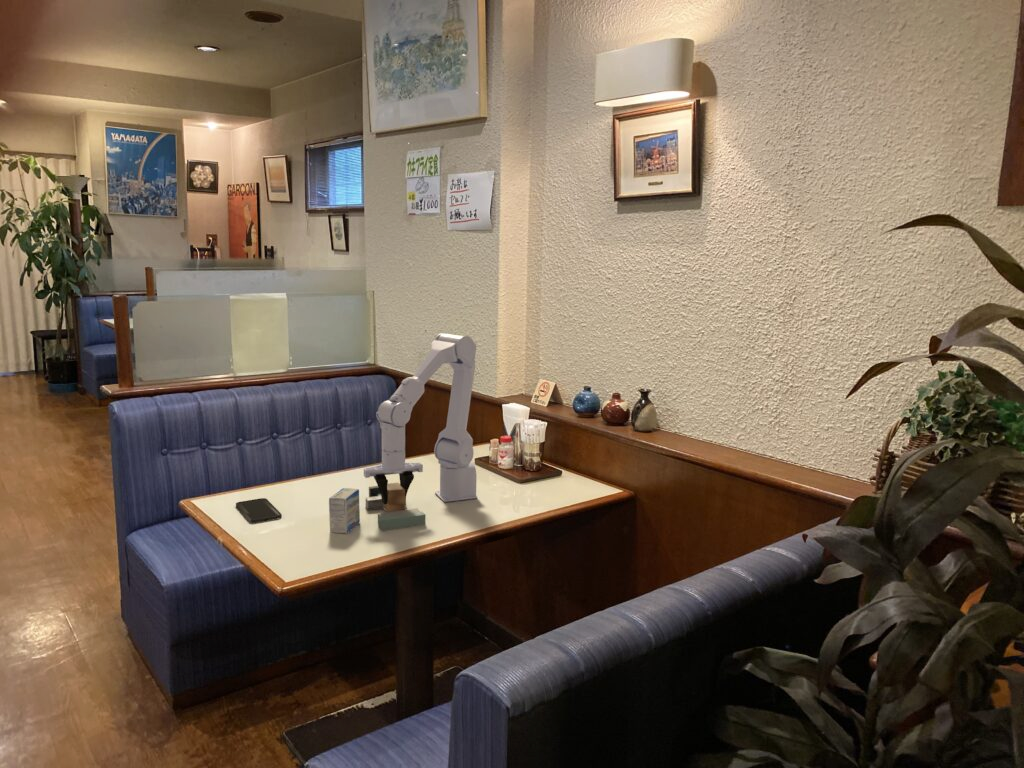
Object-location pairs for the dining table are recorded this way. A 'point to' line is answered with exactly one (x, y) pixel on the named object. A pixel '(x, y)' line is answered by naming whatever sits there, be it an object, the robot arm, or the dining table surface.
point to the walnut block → (395, 497)
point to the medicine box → (344, 510)
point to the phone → (258, 510)
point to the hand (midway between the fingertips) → (393, 501)
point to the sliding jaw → (374, 499)
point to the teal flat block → (400, 519)
